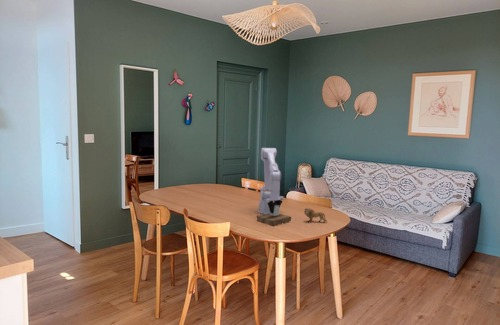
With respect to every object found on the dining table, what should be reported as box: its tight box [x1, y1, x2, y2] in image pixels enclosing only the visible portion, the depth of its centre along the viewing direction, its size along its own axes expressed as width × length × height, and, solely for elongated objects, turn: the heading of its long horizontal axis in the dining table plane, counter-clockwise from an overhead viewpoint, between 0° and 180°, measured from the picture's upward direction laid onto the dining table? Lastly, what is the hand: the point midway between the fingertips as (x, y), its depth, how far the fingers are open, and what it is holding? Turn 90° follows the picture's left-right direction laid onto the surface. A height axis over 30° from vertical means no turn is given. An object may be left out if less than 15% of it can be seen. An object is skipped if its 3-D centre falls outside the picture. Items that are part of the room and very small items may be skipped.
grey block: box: [270, 205, 280, 216], centre depth 228 cm, size 4×4×6 cm
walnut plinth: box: [256, 213, 292, 227], centre depth 228 cm, size 14×16×3 cm
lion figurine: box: [303, 207, 328, 224], centre depth 229 cm, size 15×5×9 cm, turn 92°
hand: (274, 212), depth 228 cm, fingers closed on grey block, 4 cm apart
